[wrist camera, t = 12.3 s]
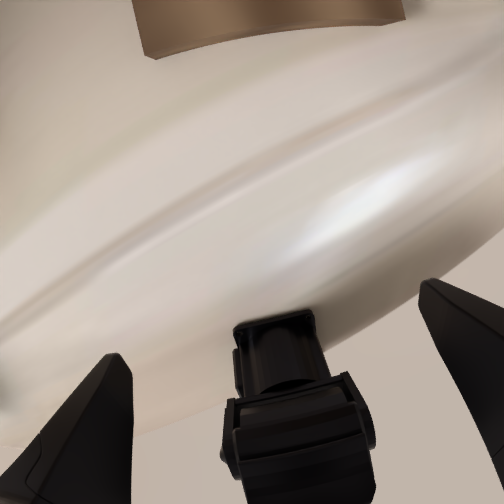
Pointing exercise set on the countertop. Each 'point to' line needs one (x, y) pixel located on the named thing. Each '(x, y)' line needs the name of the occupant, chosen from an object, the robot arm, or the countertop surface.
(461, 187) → the countertop surface
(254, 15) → the walnut base
